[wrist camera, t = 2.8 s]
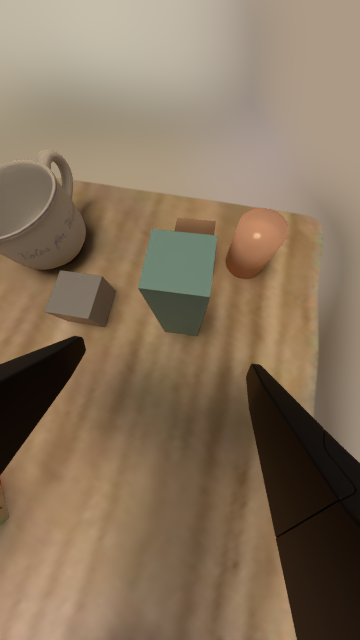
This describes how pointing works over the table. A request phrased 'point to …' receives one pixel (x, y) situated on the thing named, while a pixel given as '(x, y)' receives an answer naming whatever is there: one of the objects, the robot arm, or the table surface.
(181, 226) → the walnut cube
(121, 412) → the table surface
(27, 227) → the teacup
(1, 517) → the stack of blocks
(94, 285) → the gray block
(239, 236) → the peach rounded cylinder
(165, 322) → the teal block
